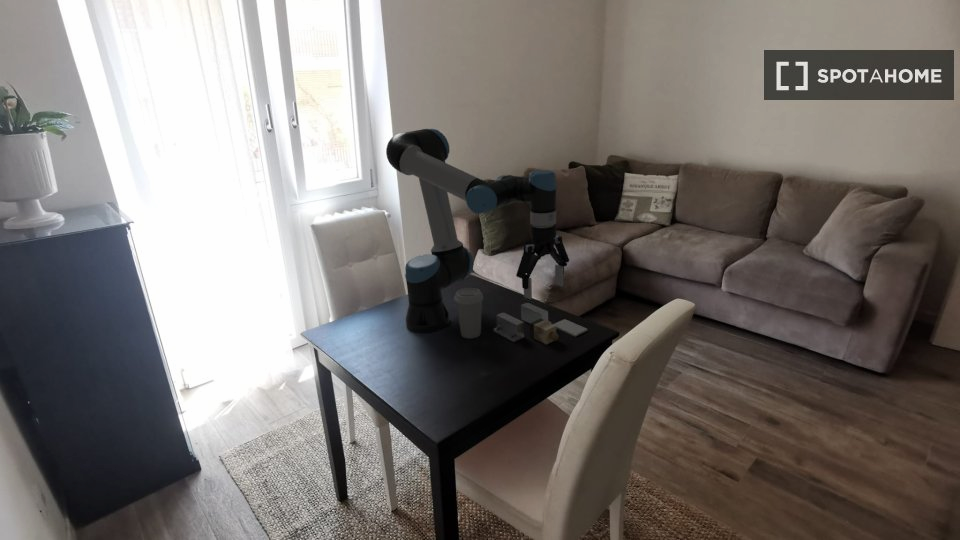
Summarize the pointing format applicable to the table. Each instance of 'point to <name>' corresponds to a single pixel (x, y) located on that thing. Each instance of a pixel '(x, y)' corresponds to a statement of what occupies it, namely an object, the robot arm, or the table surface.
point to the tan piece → (543, 331)
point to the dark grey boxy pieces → (518, 321)
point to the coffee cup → (469, 311)
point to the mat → (570, 327)
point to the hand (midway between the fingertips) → (543, 291)
